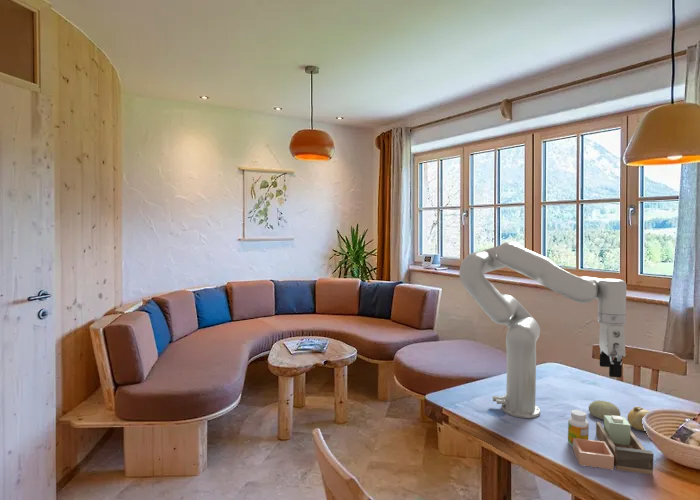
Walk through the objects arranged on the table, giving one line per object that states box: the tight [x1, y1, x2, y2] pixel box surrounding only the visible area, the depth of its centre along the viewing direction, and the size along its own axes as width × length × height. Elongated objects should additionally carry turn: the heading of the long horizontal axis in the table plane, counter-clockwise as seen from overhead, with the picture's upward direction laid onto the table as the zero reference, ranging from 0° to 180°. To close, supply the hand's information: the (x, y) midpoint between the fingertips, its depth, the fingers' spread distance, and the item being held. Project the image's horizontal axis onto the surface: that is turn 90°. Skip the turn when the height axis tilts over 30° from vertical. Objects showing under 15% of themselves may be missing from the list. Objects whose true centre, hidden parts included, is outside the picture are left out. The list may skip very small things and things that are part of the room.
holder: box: [572, 438, 615, 471], centre depth 120 cm, size 8×8×4 cm
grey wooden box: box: [595, 421, 654, 476], centre depth 123 cm, size 20×8×6 cm, turn 164°
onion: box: [626, 406, 651, 432], centre depth 137 cm, size 8×8×7 cm
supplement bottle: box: [567, 409, 590, 447], centre depth 128 cm, size 5×5×10 cm
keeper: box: [603, 415, 632, 445], centre depth 128 cm, size 5×5×7 cm
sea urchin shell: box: [588, 400, 621, 421], centre depth 147 cm, size 9×8×8 cm
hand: (610, 371), depth 136 cm, fingers open, 9 cm apart
